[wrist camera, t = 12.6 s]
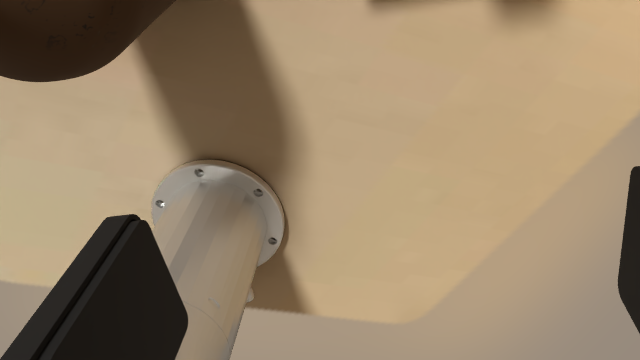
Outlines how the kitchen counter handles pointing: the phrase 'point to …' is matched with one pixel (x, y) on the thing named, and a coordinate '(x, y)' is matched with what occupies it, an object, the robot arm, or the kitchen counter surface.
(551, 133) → the kitchen counter surface
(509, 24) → the kitchen counter surface
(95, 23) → the olive oil
